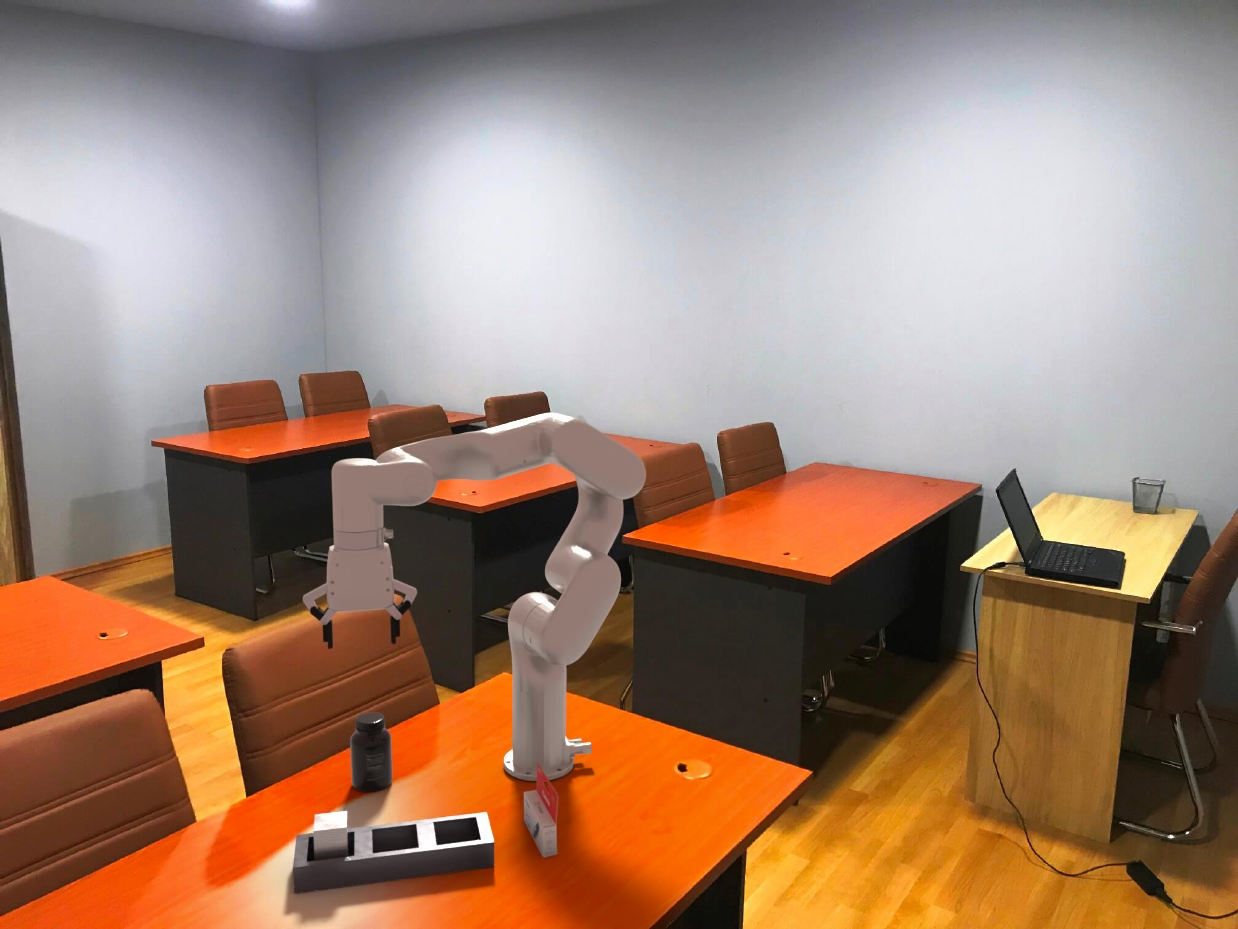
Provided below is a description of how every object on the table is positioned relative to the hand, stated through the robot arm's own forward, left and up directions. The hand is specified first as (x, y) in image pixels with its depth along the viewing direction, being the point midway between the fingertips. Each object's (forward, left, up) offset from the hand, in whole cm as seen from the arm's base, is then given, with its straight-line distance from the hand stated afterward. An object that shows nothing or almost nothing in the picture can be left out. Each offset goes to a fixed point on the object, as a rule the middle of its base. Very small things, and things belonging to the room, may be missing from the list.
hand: (362, 643), depth 151 cm
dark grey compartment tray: (-4, +17, -28) cm, 33 cm away
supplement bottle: (-1, -8, -28) cm, 30 cm away
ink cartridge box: (-26, +15, -29) cm, 41 cm away
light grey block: (+5, +17, -28) cm, 33 cm away
